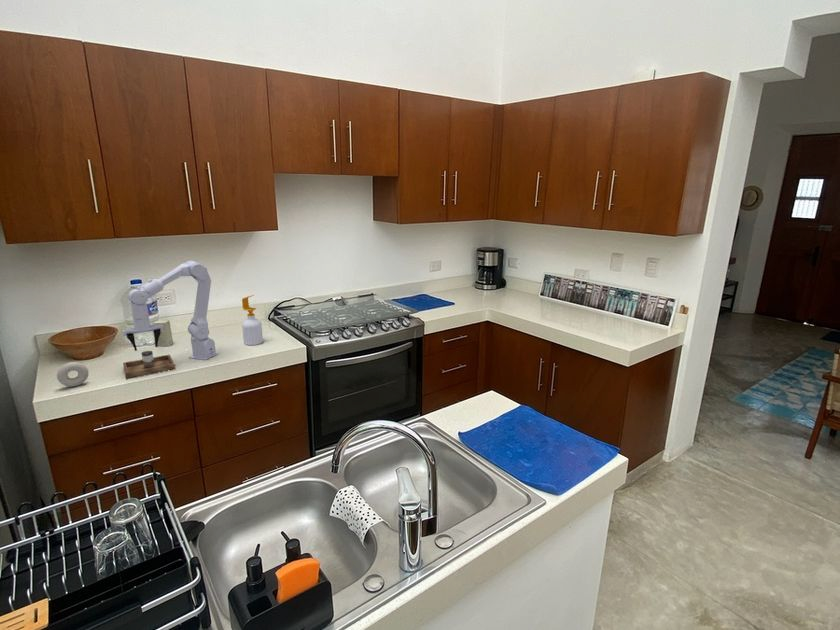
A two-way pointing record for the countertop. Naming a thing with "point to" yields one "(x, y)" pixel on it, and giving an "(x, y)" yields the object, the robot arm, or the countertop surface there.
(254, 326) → the soap bottle
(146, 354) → the steel shaker
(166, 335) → the skincare box
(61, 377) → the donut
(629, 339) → the countertop surface
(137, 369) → the walnut tray
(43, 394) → the countertop surface
